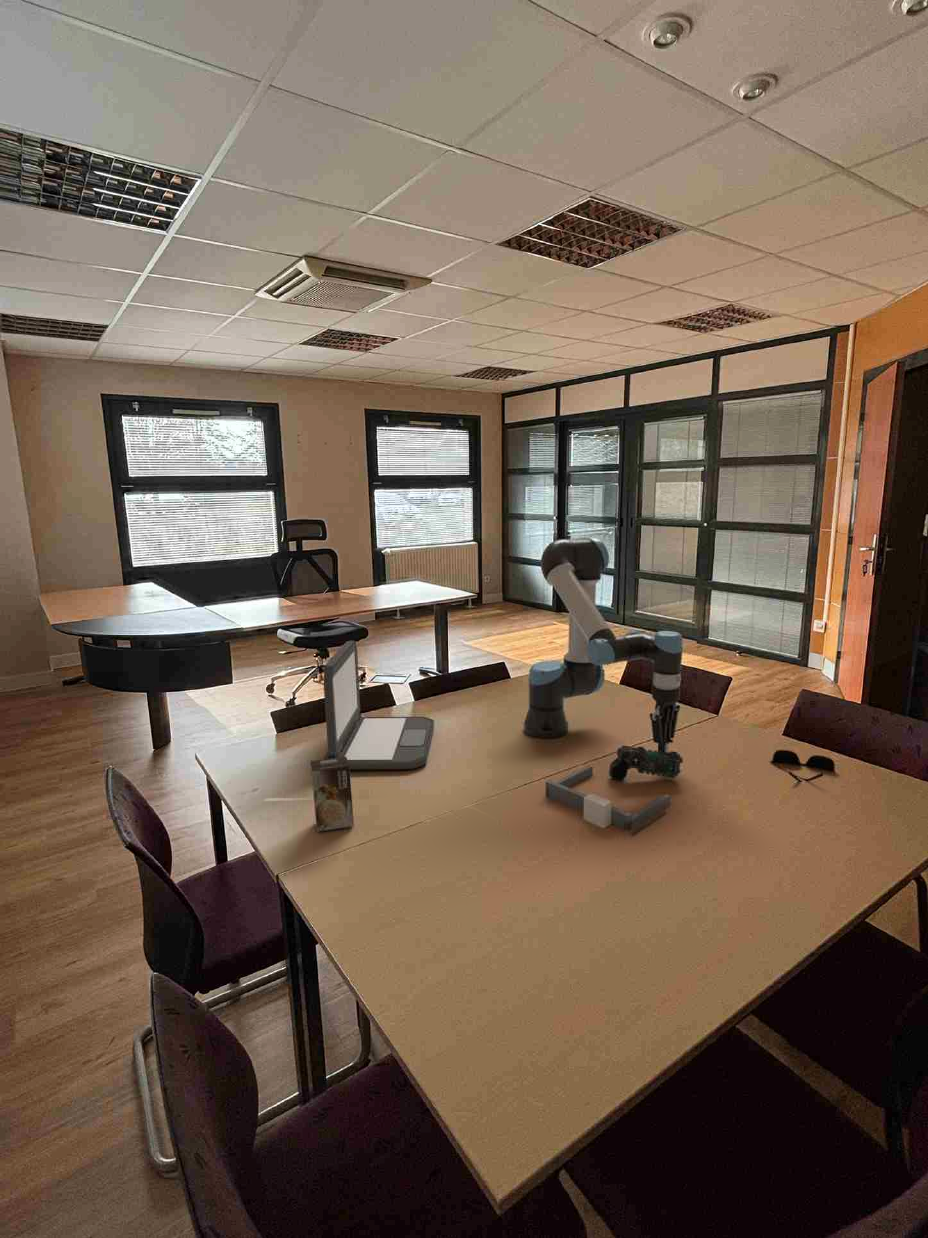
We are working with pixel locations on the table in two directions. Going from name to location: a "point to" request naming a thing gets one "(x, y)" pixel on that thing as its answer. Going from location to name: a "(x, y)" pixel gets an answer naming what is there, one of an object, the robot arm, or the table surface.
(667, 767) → the toy gun
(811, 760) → the sunglasses
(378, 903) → the table surface
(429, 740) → the laptop
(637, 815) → the dock
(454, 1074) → the table surface
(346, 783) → the coffee box
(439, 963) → the table surface
